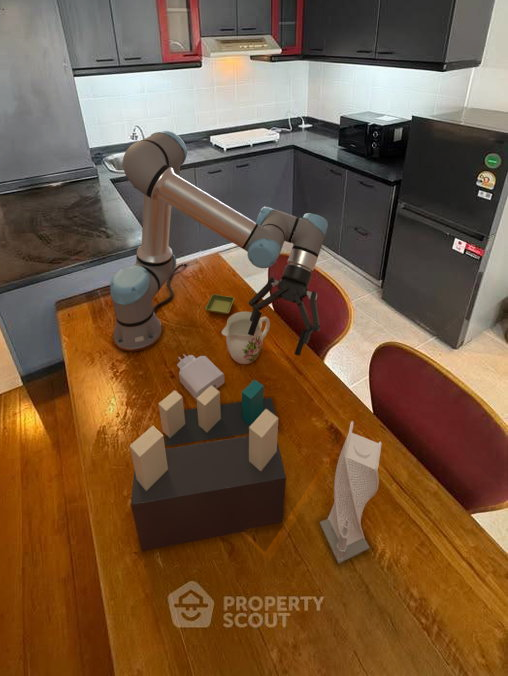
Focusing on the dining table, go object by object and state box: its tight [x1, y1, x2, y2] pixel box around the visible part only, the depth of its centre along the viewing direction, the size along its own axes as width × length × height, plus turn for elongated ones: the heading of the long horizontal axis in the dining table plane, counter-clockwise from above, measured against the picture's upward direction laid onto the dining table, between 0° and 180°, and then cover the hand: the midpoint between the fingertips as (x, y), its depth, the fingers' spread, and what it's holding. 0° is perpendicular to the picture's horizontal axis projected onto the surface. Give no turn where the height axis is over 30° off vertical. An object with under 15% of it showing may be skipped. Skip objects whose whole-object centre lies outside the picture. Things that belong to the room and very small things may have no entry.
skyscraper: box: [319, 420, 383, 565], centre depth 70 cm, size 8×8×28 cm
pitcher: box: [221, 310, 271, 365], centre depth 114 cm, size 11×18×14 cm, turn 129°
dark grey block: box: [158, 385, 280, 447], centre depth 95 cm, size 9×29×11 cm, turn 99°
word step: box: [129, 409, 287, 552], centre depth 74 cm, size 9×28×26 cm, turn 99°
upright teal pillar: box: [241, 379, 265, 426], centre depth 96 cm, size 3×5×10 cm, turn 139°
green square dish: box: [204, 293, 236, 315], centre depth 136 cm, size 9×9×2 cm
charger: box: [176, 353, 225, 402], centre depth 109 cm, size 5×9×15 cm
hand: (273, 344), depth 99 cm, fingers open, 13 cm apart
